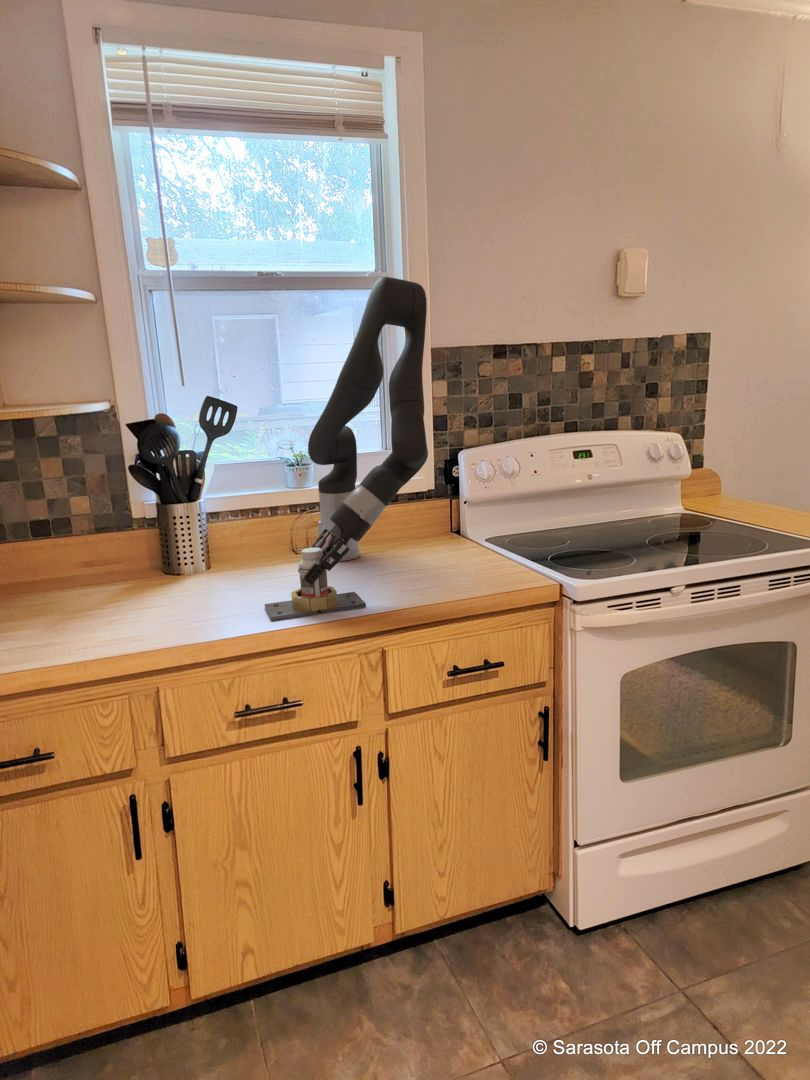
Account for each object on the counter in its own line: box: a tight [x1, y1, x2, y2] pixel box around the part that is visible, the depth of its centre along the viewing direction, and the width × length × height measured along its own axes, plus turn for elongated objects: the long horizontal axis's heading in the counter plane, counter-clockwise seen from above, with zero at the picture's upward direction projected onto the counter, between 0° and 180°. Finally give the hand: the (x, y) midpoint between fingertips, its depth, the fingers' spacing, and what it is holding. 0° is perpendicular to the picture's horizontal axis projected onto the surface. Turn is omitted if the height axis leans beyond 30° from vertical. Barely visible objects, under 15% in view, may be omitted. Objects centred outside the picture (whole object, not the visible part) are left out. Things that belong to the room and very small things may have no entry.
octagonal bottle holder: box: [264, 585, 367, 622], centre depth 146 cm, size 19×9×3 cm, turn 109°
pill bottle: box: [298, 547, 329, 598], centre depth 145 cm, size 5×5×10 cm
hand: (304, 577), depth 145 cm, fingers closed on pill bottle, 5 cm apart
